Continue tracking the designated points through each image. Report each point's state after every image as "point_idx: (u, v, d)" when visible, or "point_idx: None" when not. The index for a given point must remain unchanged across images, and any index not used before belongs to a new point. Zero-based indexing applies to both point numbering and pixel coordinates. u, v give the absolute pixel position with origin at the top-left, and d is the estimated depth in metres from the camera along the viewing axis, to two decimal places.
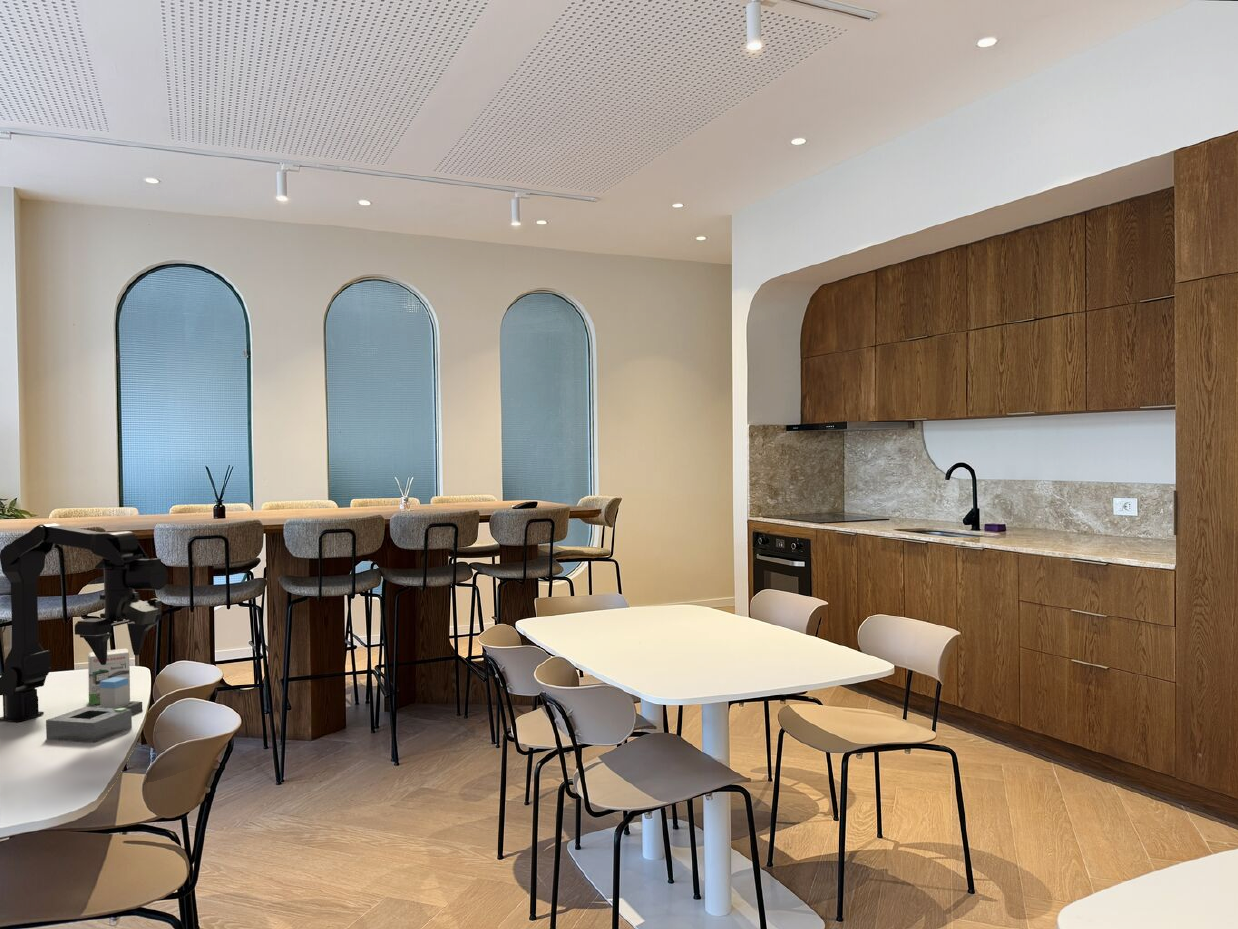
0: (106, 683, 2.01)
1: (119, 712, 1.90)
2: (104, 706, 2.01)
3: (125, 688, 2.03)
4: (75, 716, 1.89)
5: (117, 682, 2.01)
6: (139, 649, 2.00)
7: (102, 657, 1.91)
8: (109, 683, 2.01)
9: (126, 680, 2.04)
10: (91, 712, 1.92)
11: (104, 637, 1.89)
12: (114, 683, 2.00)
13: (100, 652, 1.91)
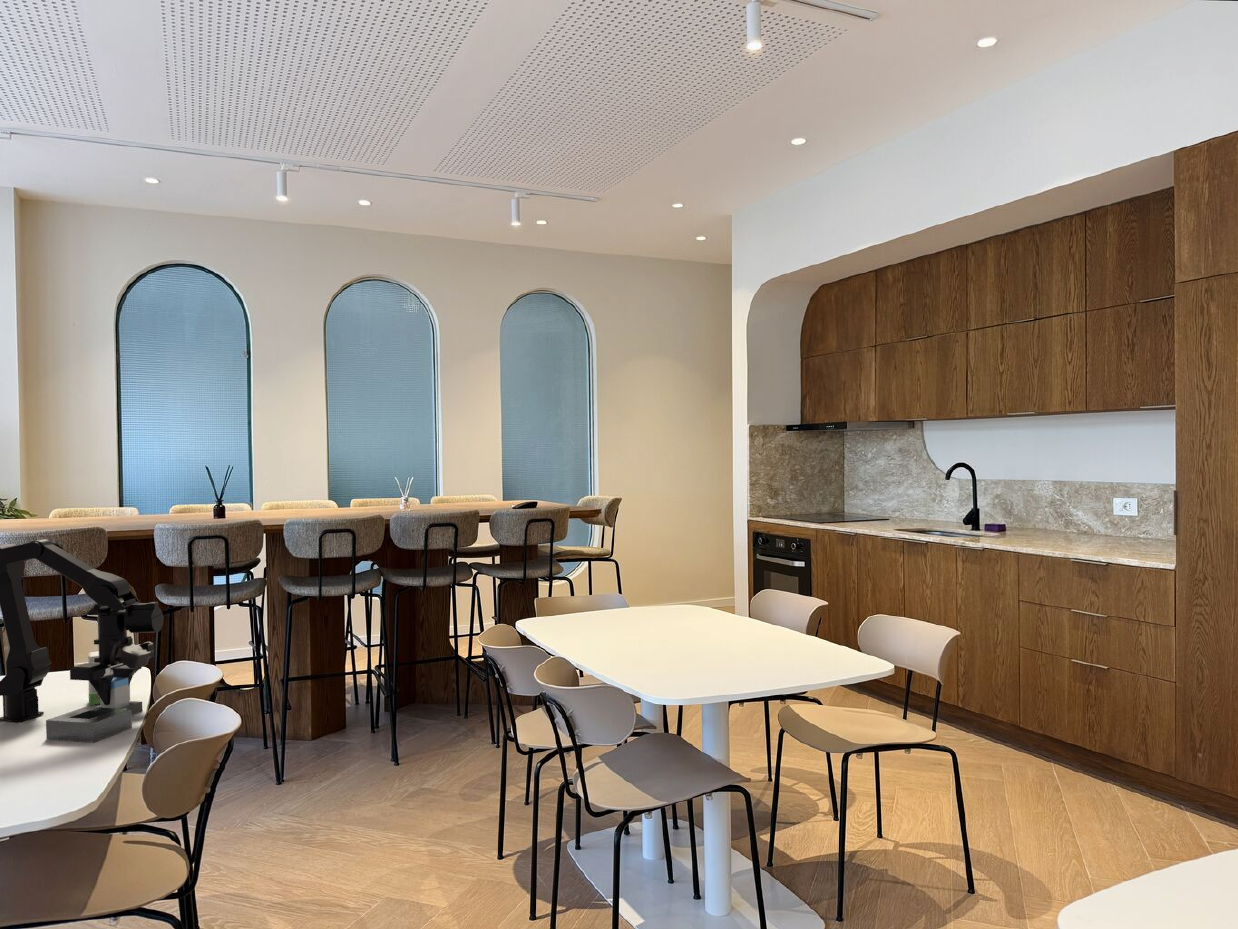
0: None
1: (119, 712, 1.90)
2: (104, 706, 2.01)
3: (125, 688, 2.03)
4: (75, 716, 1.89)
5: (117, 682, 2.01)
6: None
7: (106, 698, 2.00)
8: None
9: (126, 680, 2.04)
10: (91, 712, 1.92)
11: (107, 679, 1.98)
12: (114, 683, 2.00)
13: (104, 693, 2.00)
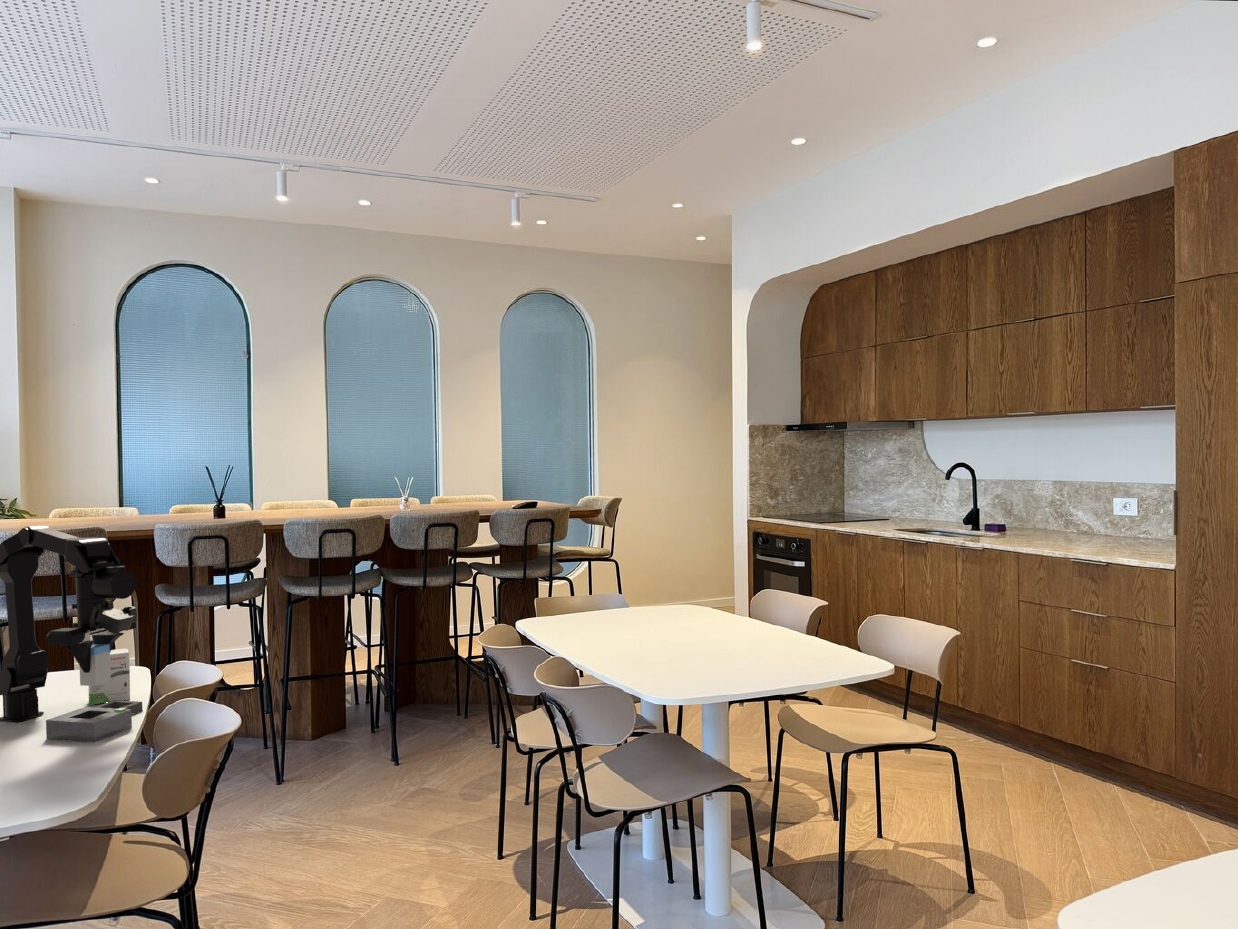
0: None
1: (119, 712, 1.90)
2: (84, 674, 1.89)
3: (106, 655, 1.92)
4: (75, 716, 1.89)
5: (98, 648, 1.90)
6: None
7: (85, 665, 1.88)
8: None
9: (107, 646, 1.92)
10: (91, 712, 1.92)
11: (87, 644, 1.86)
12: (94, 649, 1.89)
13: (83, 660, 1.88)
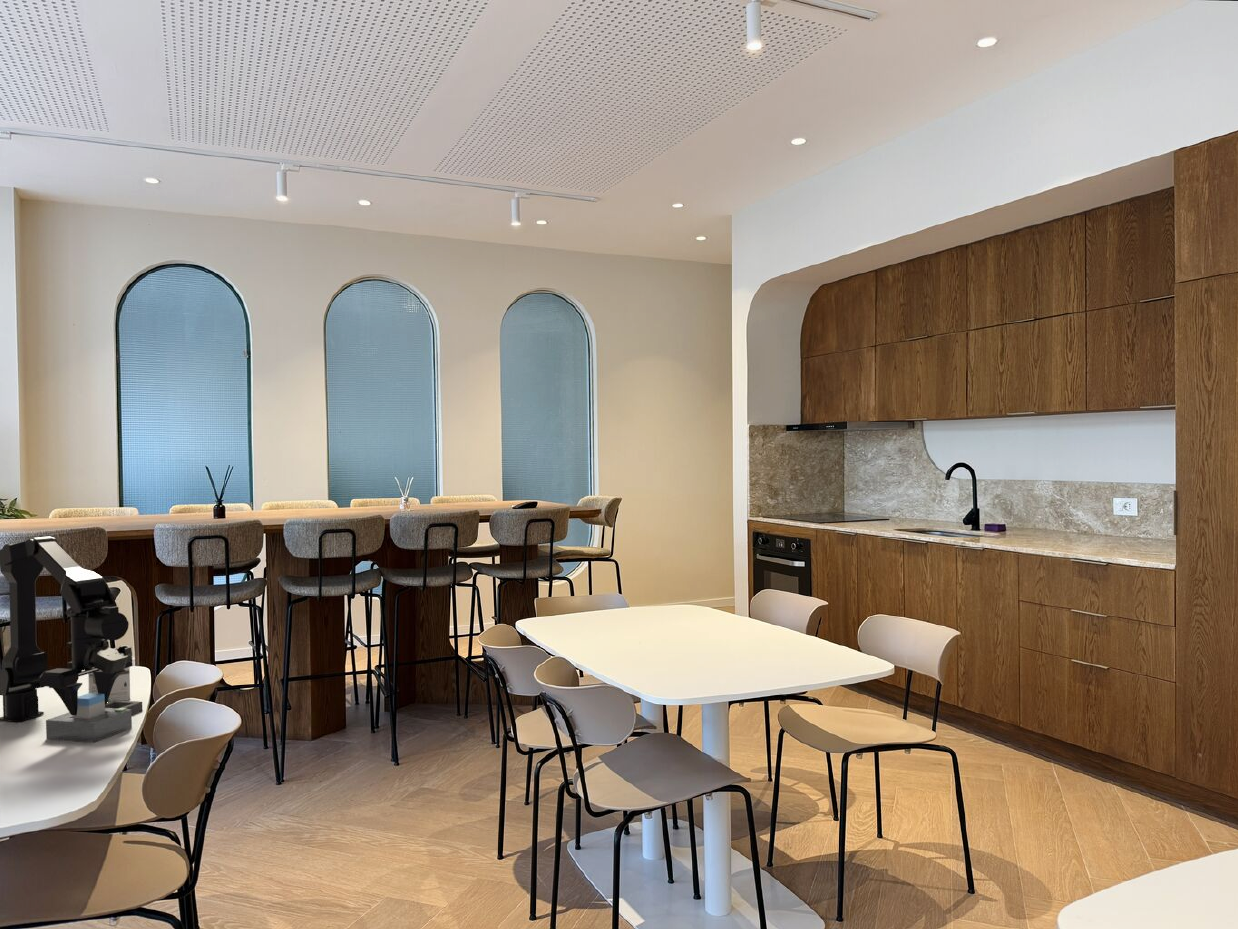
0: (80, 700, 1.87)
1: (119, 712, 1.90)
2: None
3: (101, 705, 1.89)
4: None
5: (92, 699, 1.87)
6: (106, 698, 1.92)
7: (72, 707, 1.84)
8: (83, 700, 1.87)
9: (102, 696, 1.90)
10: None
11: (74, 687, 1.82)
12: (89, 700, 1.86)
13: (70, 702, 1.84)
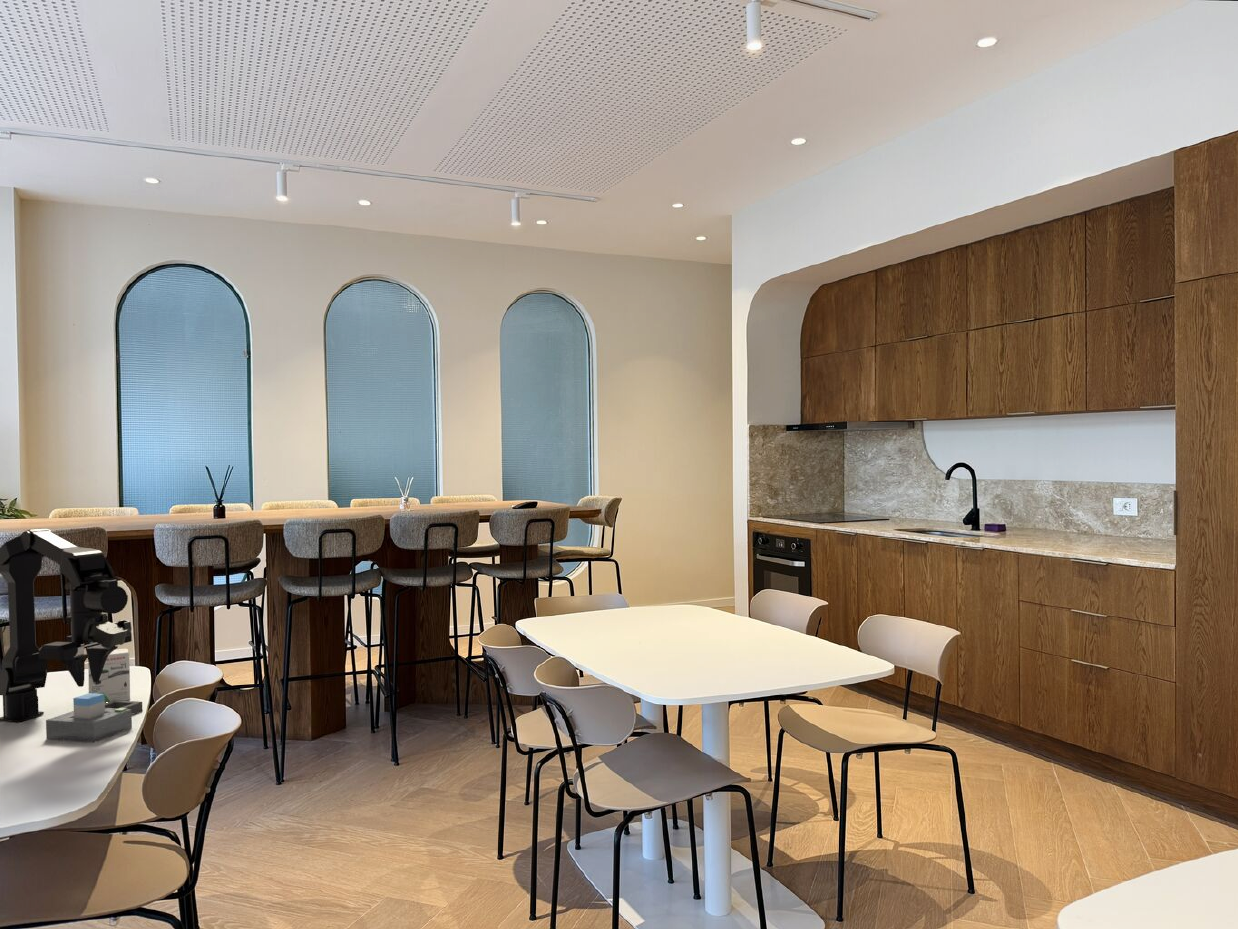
0: (80, 700, 1.87)
1: (119, 712, 1.90)
2: None
3: (101, 705, 1.89)
4: None
5: (92, 699, 1.87)
6: (98, 675, 1.90)
7: (79, 679, 1.86)
8: (83, 700, 1.87)
9: (102, 696, 1.90)
10: None
11: (81, 658, 1.84)
12: (89, 700, 1.86)
13: (77, 674, 1.86)
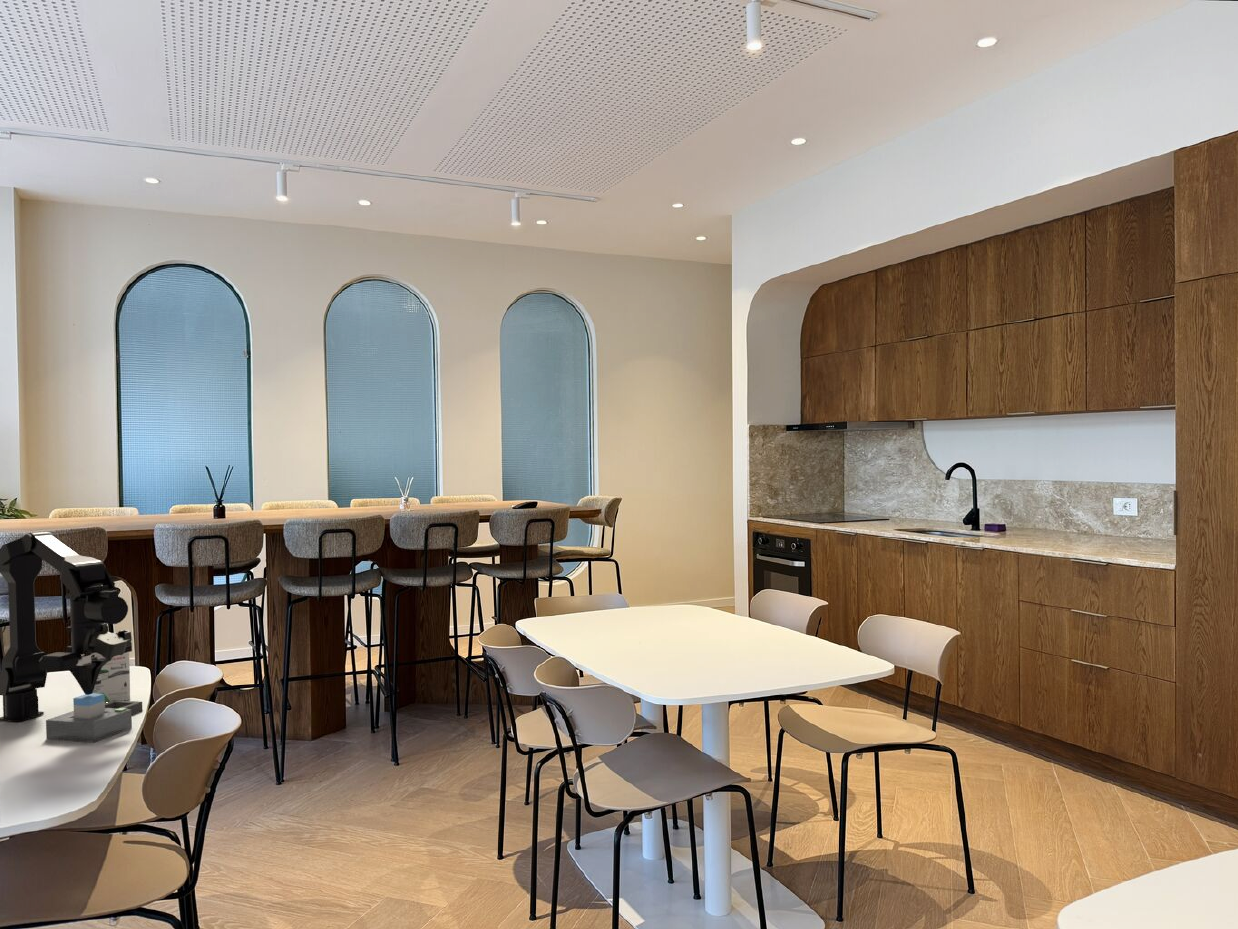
0: (80, 700, 1.87)
1: (119, 712, 1.90)
2: None
3: (101, 705, 1.89)
4: None
5: (92, 699, 1.87)
6: (92, 688, 1.89)
7: (86, 687, 1.88)
8: (83, 700, 1.87)
9: (102, 696, 1.90)
10: None
11: (88, 667, 1.85)
12: (89, 700, 1.86)
13: (84, 682, 1.87)
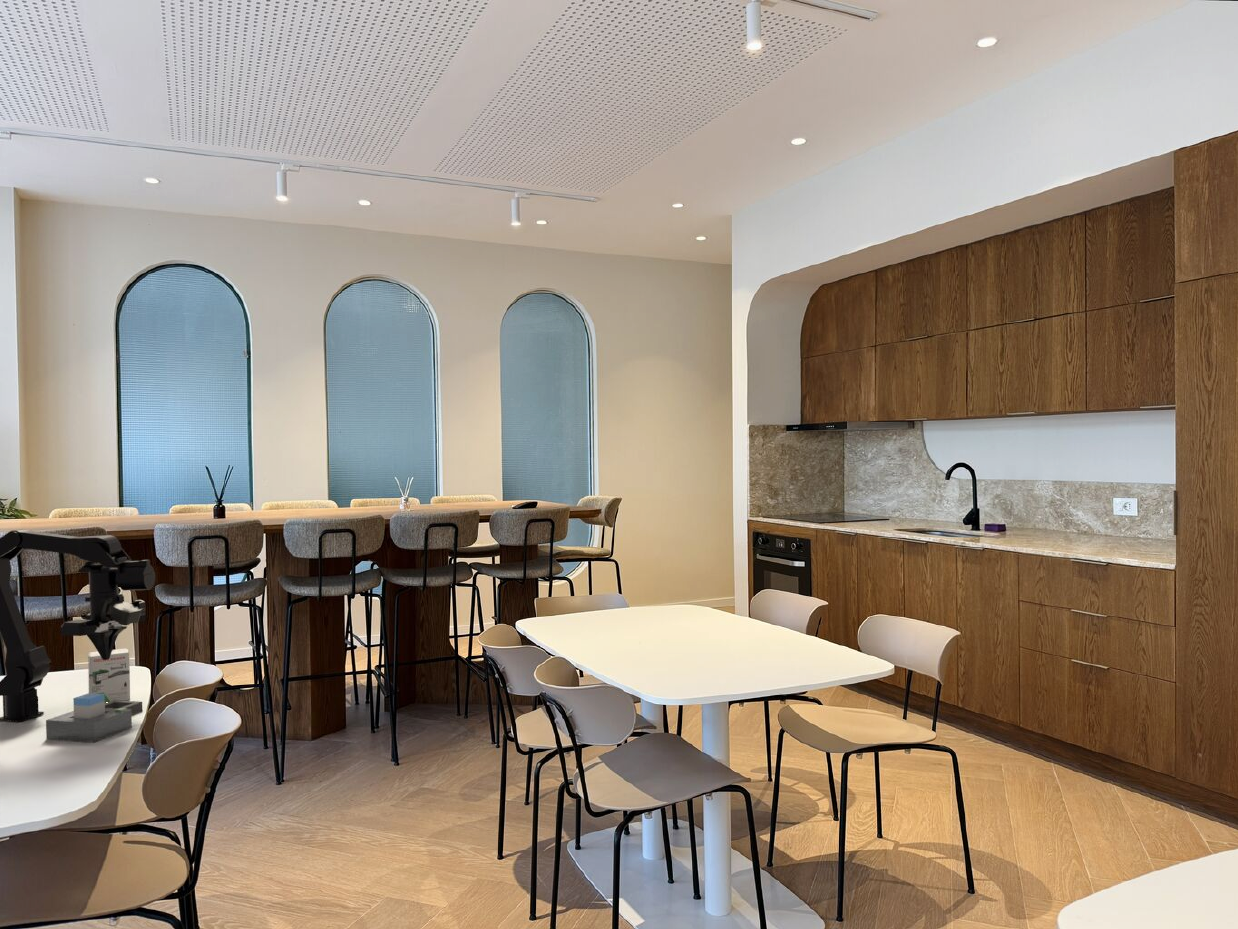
0: (80, 700, 1.87)
1: (119, 712, 1.90)
2: None
3: (101, 705, 1.89)
4: None
5: (92, 699, 1.87)
6: (109, 653, 2.03)
7: (104, 652, 2.02)
8: (83, 700, 1.87)
9: (102, 696, 1.90)
10: None
11: (105, 633, 2.00)
12: (89, 700, 1.86)
13: (102, 648, 2.02)
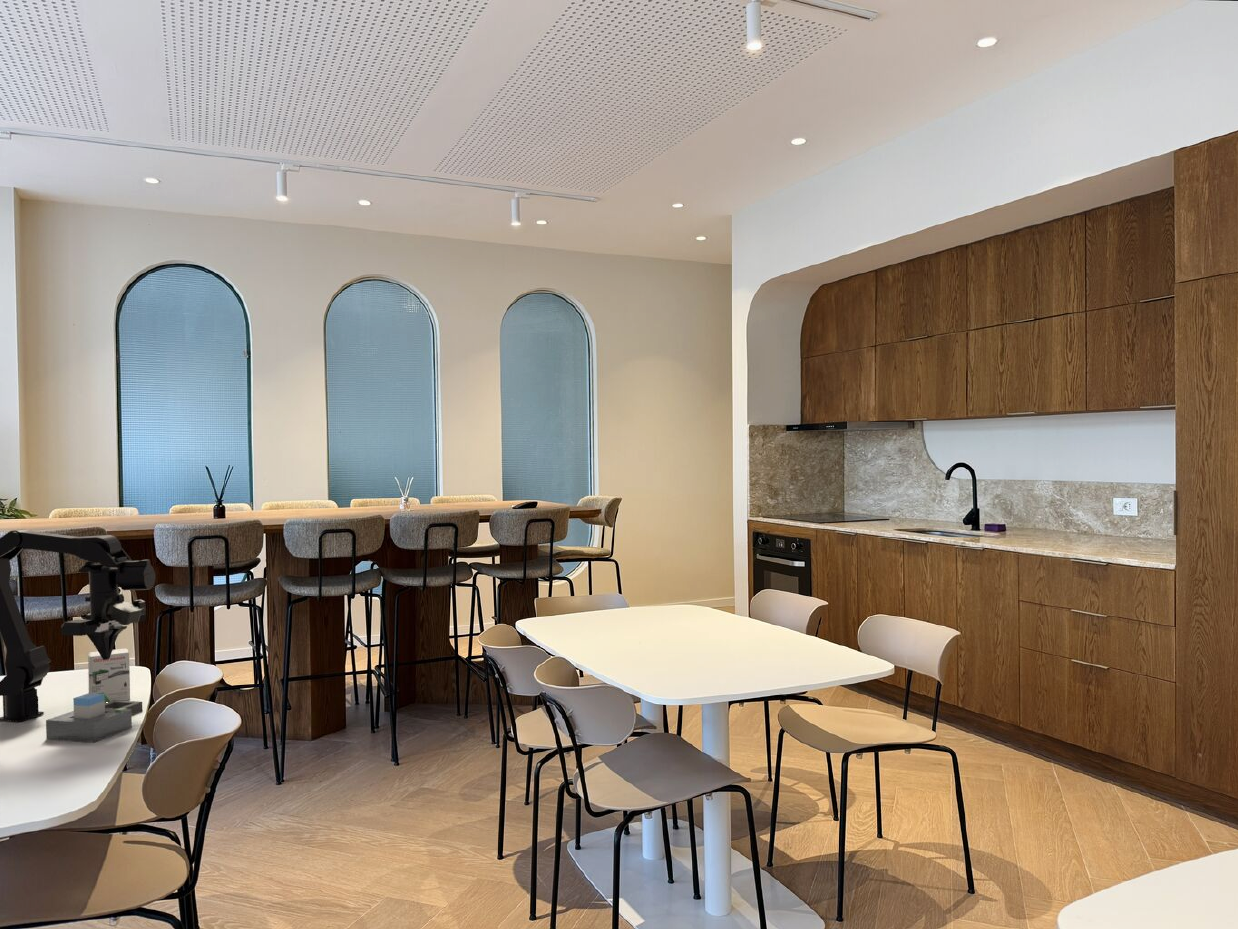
0: (80, 700, 1.87)
1: (119, 712, 1.90)
2: None
3: (101, 705, 1.89)
4: None
5: (92, 699, 1.87)
6: (109, 653, 2.03)
7: (104, 652, 2.02)
8: (83, 700, 1.87)
9: (102, 696, 1.90)
10: None
11: (106, 633, 2.00)
12: (89, 700, 1.86)
13: (102, 648, 2.02)
